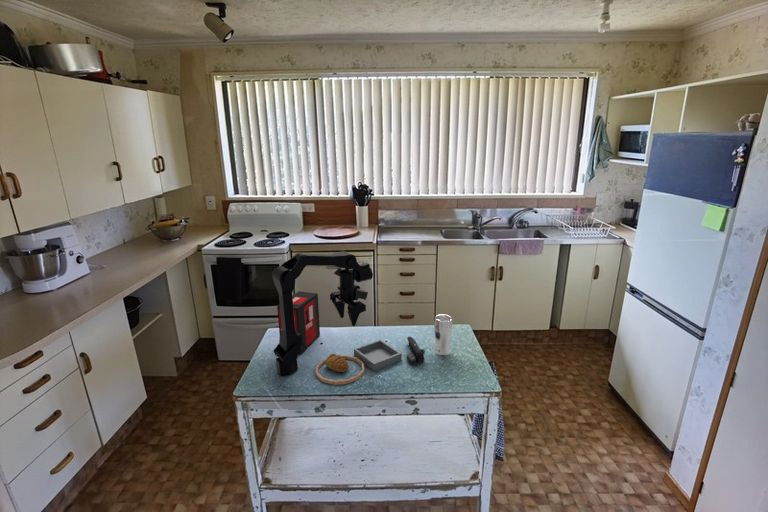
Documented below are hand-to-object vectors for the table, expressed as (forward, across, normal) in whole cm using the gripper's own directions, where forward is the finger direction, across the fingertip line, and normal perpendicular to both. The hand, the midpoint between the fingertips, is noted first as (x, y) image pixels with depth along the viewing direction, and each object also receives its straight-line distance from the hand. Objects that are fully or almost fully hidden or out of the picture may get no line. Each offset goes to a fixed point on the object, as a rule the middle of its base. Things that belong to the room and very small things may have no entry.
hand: (347, 321), depth 154 cm
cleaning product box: (+13, +15, +14) cm, 24 cm away
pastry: (+13, -12, +12) cm, 21 cm away
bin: (+12, -12, -6) cm, 18 cm away
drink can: (+12, -24, -29) cm, 39 cm away
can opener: (+12, -18, -19) cm, 29 cm away
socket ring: (+12, -12, +10) cm, 20 cm away
